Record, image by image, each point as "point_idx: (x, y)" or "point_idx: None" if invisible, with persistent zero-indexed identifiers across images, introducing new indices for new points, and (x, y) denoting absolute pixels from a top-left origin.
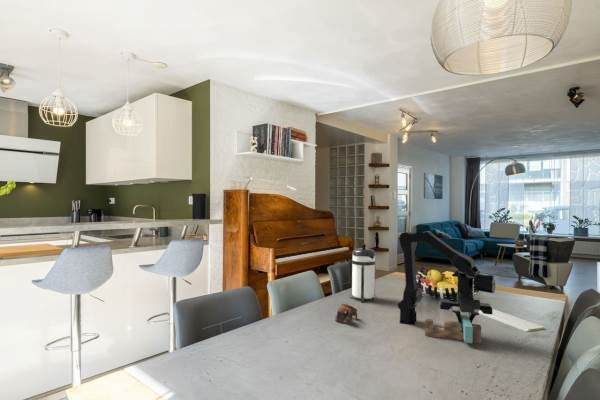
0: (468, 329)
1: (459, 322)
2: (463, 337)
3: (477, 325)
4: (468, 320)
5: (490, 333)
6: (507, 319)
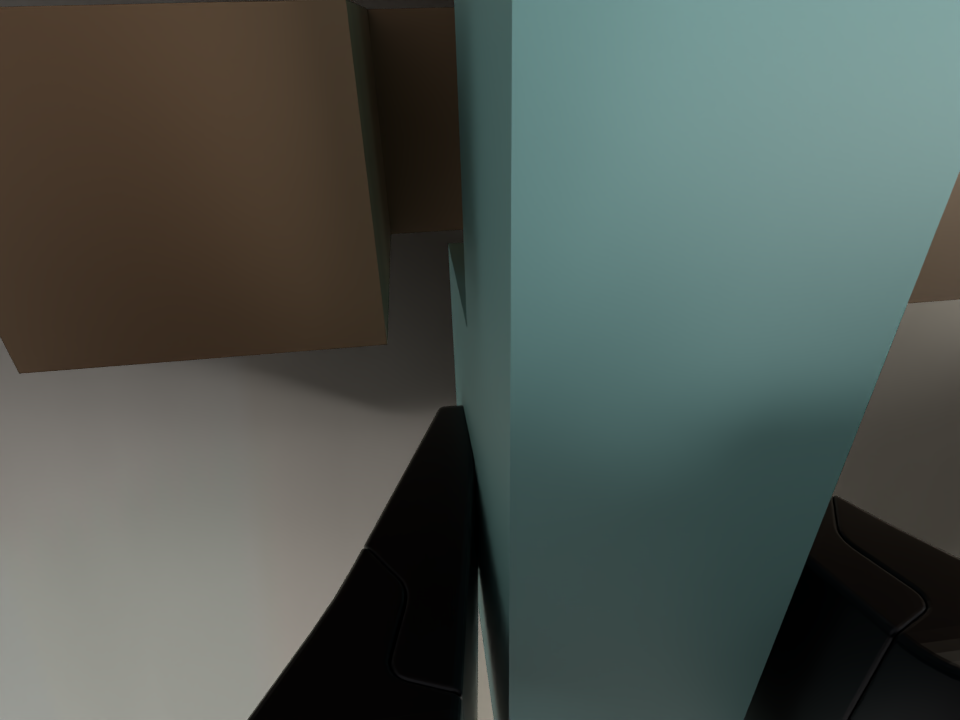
0: None
1: None
2: None
3: (109, 205)
4: (593, 281)
5: (96, 589)
6: None
